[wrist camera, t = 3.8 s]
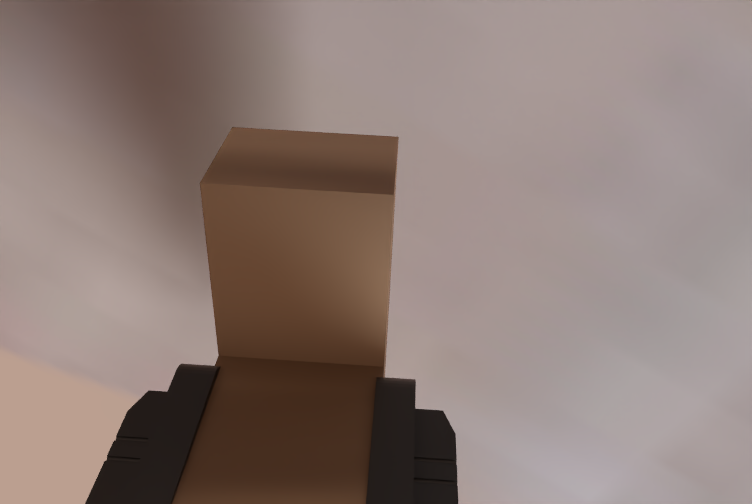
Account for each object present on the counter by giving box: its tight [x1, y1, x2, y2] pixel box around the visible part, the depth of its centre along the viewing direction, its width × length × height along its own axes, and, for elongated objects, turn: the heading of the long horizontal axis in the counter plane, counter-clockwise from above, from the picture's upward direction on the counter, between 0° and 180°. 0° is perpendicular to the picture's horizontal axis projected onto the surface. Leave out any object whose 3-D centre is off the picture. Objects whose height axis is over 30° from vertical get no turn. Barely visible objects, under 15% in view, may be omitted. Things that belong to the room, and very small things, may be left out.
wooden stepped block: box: [172, 127, 398, 504], centre depth 12 cm, size 10×3×8 cm, turn 178°
